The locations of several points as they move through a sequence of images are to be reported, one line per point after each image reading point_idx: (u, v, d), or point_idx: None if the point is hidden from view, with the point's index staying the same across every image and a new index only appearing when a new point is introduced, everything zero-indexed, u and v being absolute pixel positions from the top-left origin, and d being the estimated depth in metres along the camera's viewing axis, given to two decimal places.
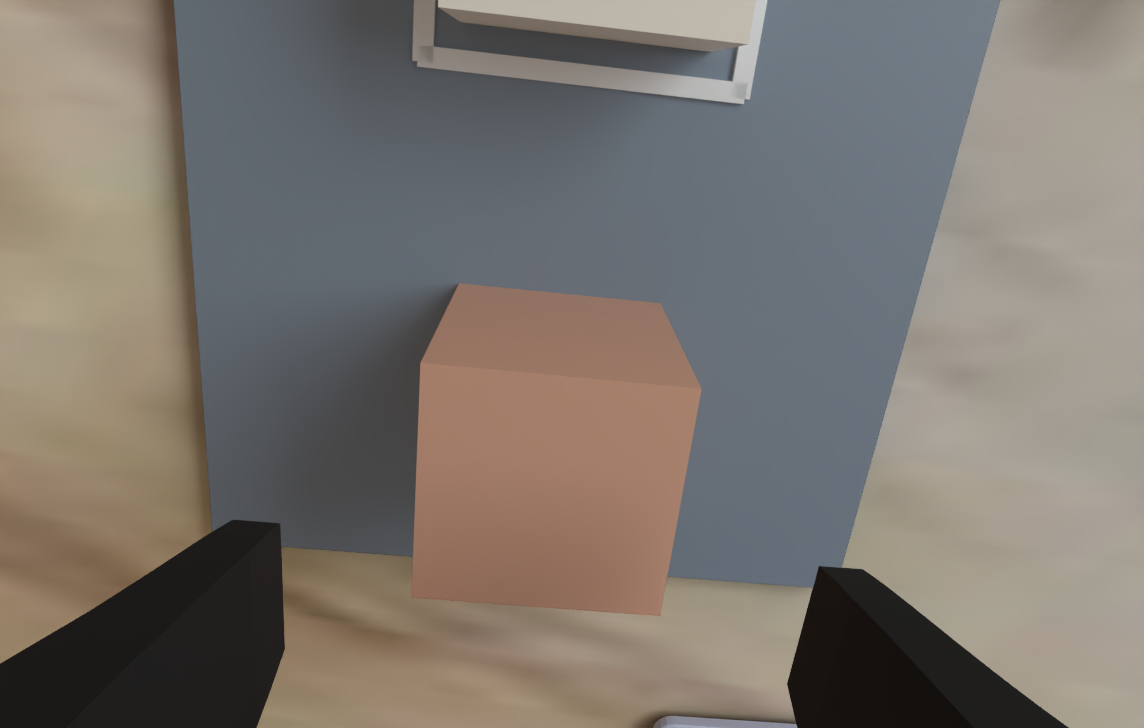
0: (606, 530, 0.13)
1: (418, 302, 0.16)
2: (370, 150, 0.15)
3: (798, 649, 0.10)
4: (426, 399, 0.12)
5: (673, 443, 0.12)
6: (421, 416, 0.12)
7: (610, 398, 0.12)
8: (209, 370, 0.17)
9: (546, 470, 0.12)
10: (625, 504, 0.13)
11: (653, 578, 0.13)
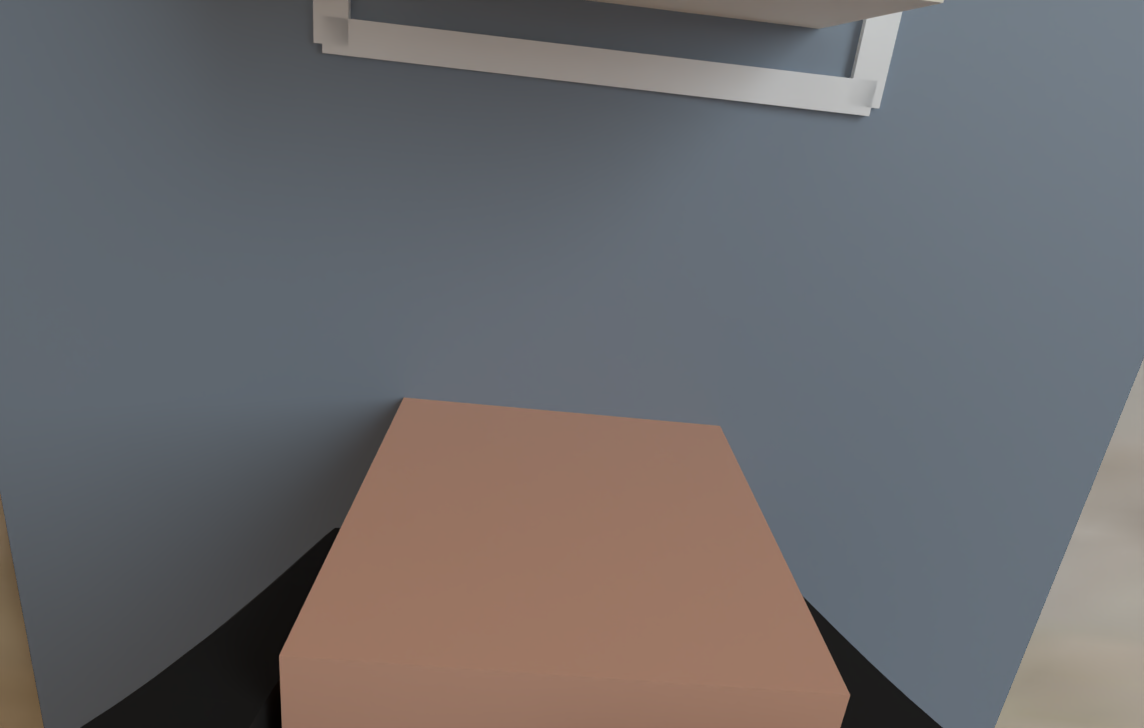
0: None
1: (340, 426, 0.10)
2: (252, 192, 0.09)
3: None
4: (296, 717, 0.06)
5: None
6: None
7: (666, 714, 0.06)
8: (20, 526, 0.11)
9: None
10: None
11: None
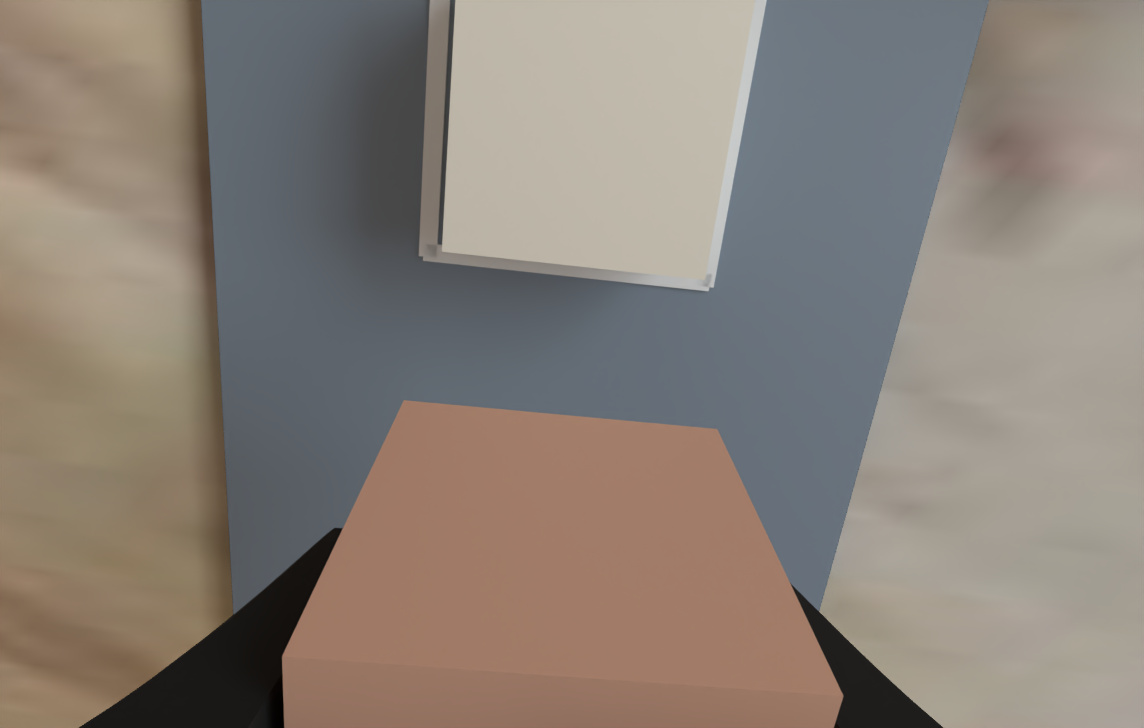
0: None
1: None
2: (381, 327, 0.17)
3: None
4: (299, 717, 0.06)
5: None
6: None
7: (662, 714, 0.06)
8: (235, 507, 0.19)
9: None
10: None
11: None
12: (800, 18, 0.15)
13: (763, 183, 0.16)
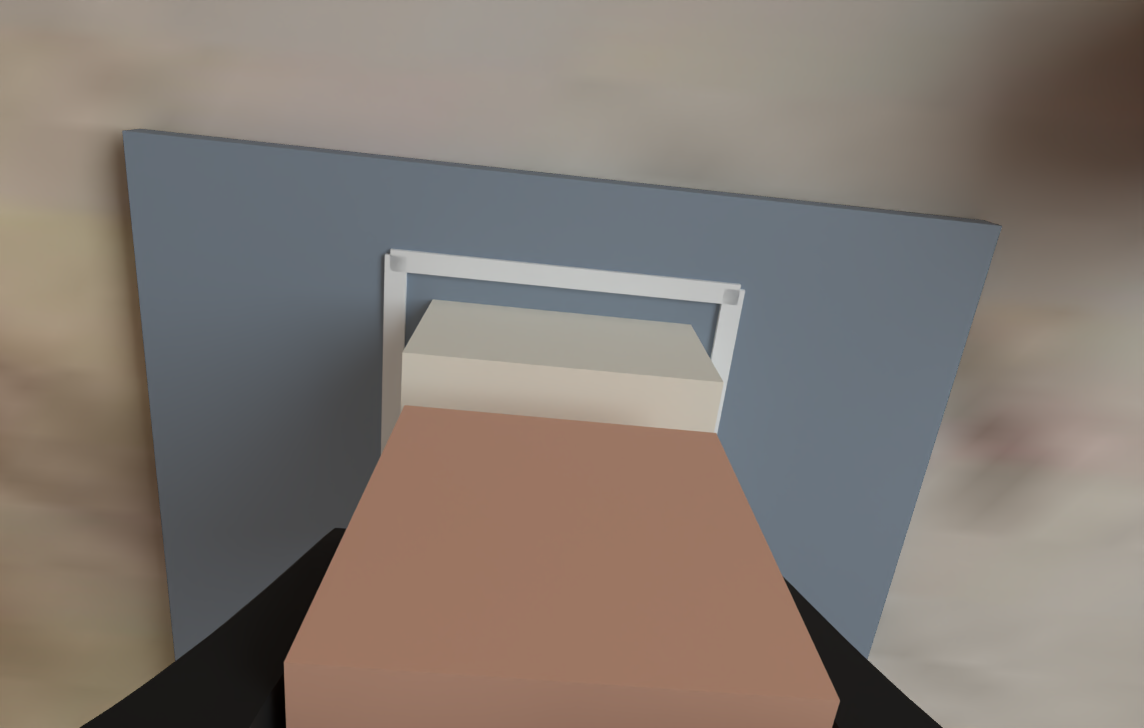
0: None
1: None
2: None
3: None
4: (300, 722, 0.06)
5: None
6: None
7: (660, 718, 0.06)
8: None
9: None
10: None
11: None
12: (775, 331, 0.14)
13: (739, 482, 0.16)
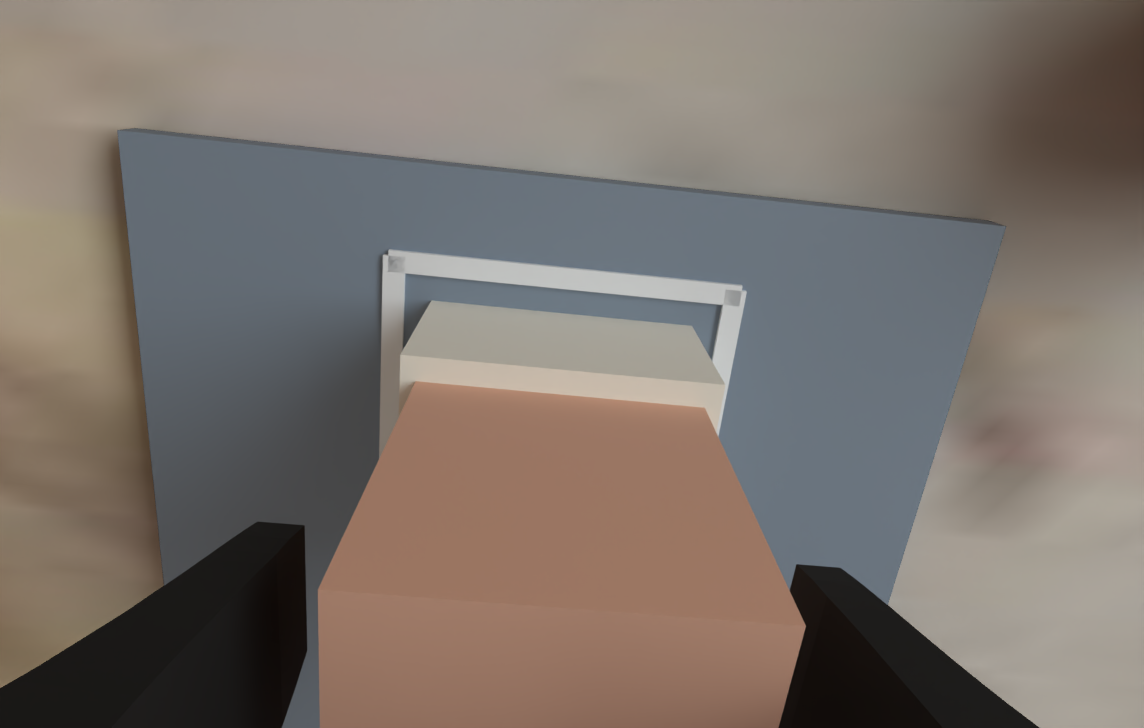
0: None
1: None
2: None
3: None
4: (331, 645, 0.07)
5: (753, 707, 0.07)
6: (324, 670, 0.07)
7: (648, 642, 0.07)
8: None
9: None
10: None
11: None
12: (777, 333, 0.14)
13: (741, 484, 0.16)
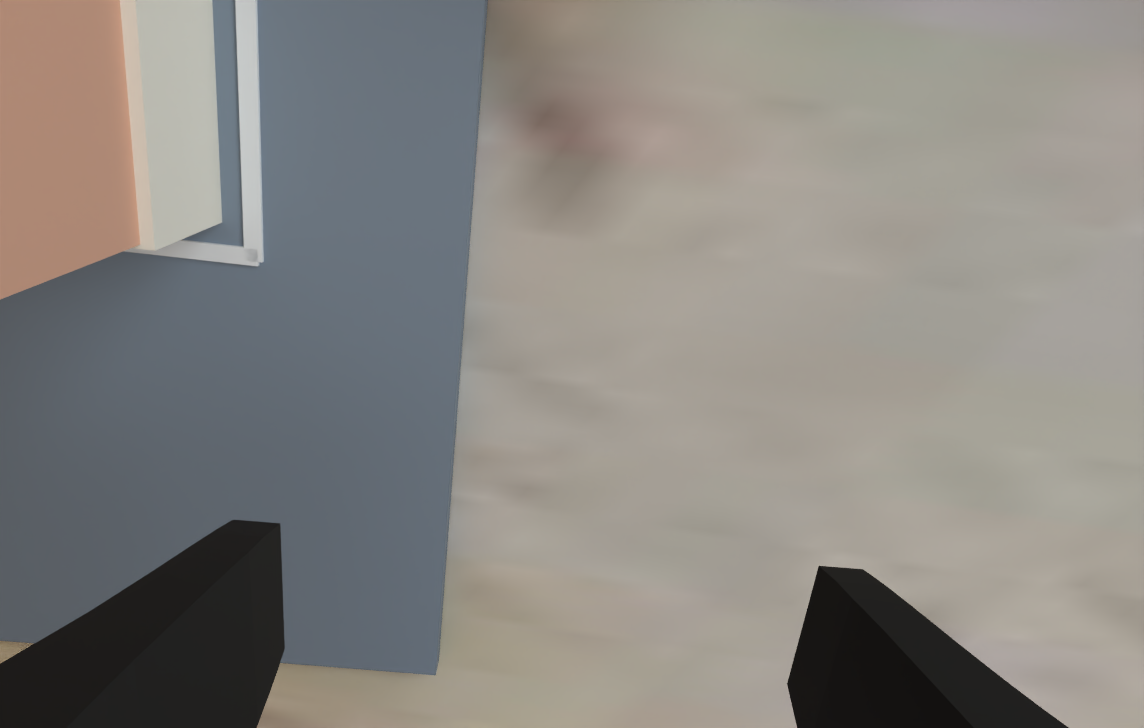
0: None
1: (0, 427, 0.18)
2: None
3: (798, 649, 0.10)
4: None
5: None
6: None
7: None
8: None
9: None
10: None
11: None
12: None
13: (294, 156, 0.16)
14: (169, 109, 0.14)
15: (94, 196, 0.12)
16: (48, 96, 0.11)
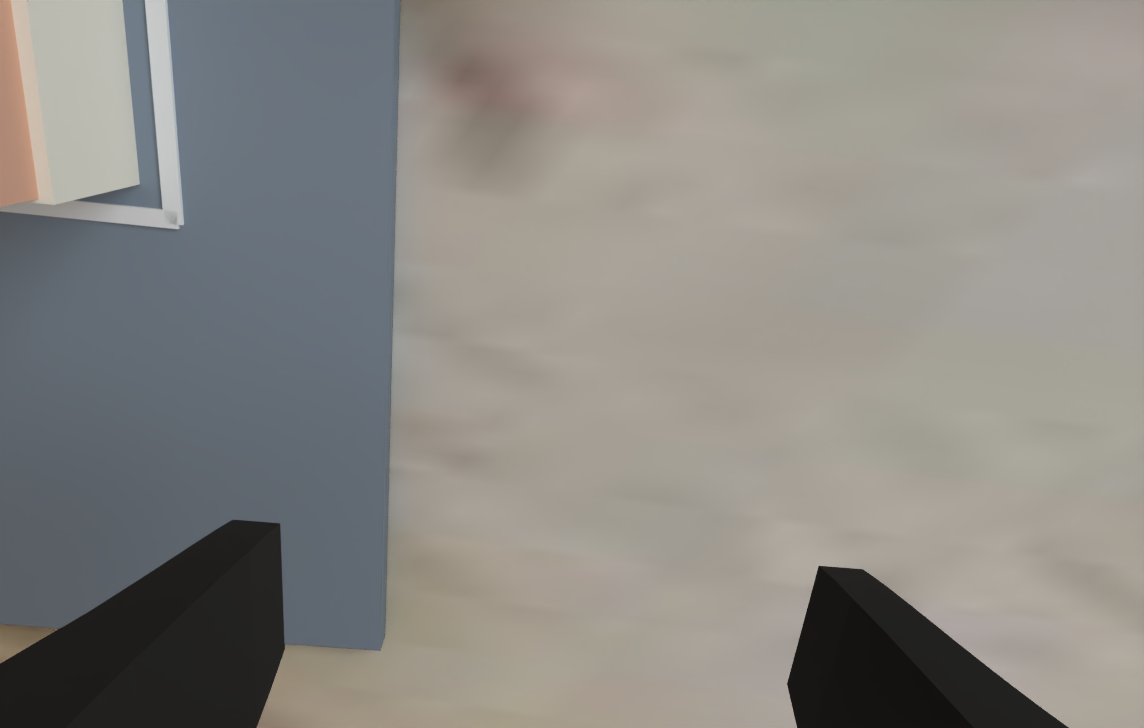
0: None
1: None
2: None
3: (798, 649, 0.10)
4: None
5: None
6: None
7: None
8: None
9: None
10: None
11: None
12: None
13: (209, 114, 0.16)
14: (67, 60, 0.14)
15: None
16: None
